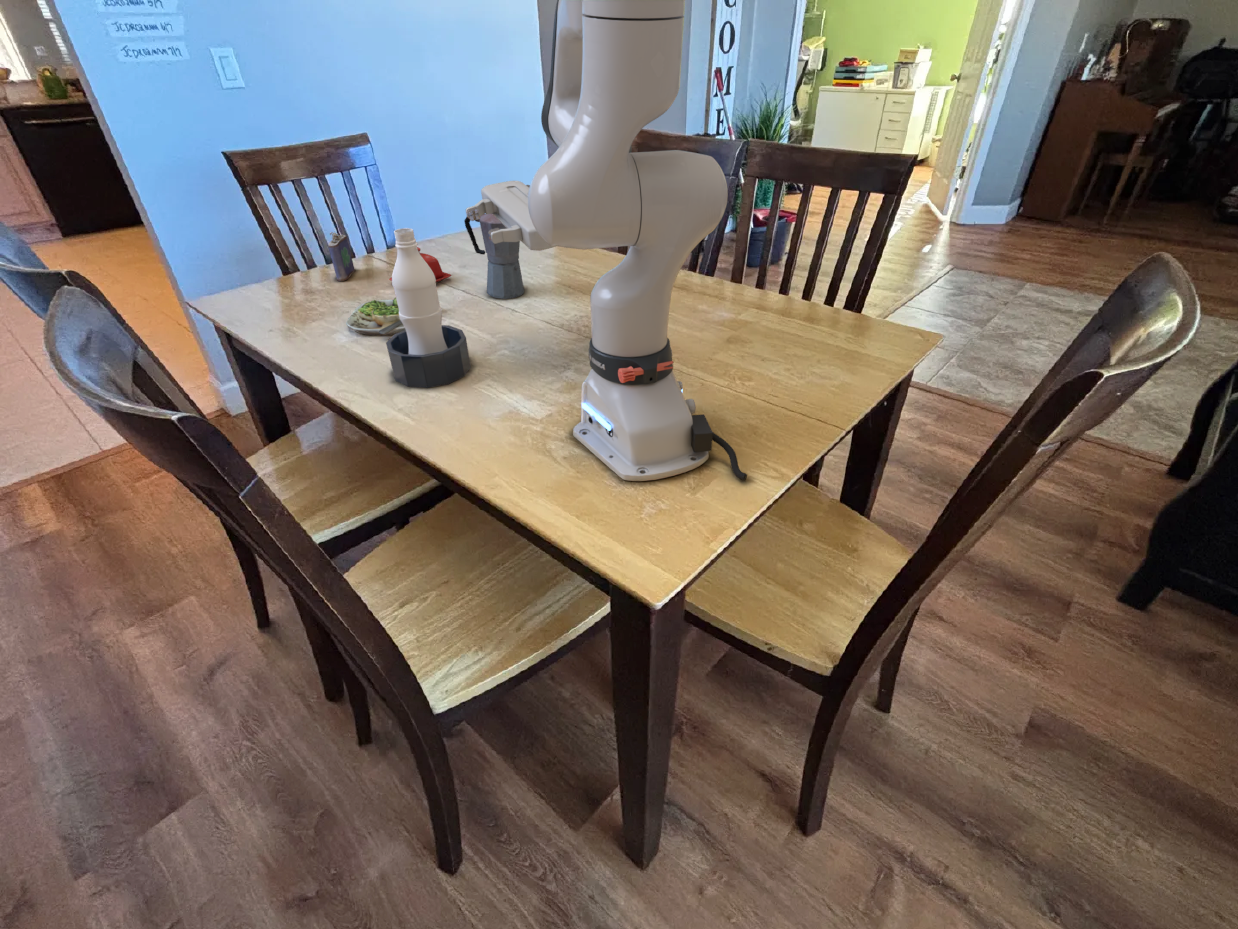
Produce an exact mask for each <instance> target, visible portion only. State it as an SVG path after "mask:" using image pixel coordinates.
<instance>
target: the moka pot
mask: <svg viewBox="0 0 1238 929" xmlns="http://www.w3.org/2000/svg"><path fill="white" fill-rule="evenodd" d="M463 221H464V226H465V229H466V231H467V233H468V236H469V238H470V241H471V242H472V246H473V249H474V252H475V254H479V255H482V256H483V255H484V256H485V254H486V257H487V258H486V259H487V274H486V294H487V295H488V296H490V297H492V298H495V299H502V300H503V299H504V300H507V299H515V298H518V297H520V296H522V295H523V294H524V293H525V289H524V288H525V287H524V282H523V277H522V270H521V264H520V260H519V259H520V243H521V241H518V242H504V241H503V242H500V243H496V244H494V243H493V242H492V241H491V240H490V239H489V234H488V232H489V230H491V229H495V228H499V229H507V228H506V227H505V226H504V225H503V224H502V223H501V222H500V221H499V220H498V219H497V218H496V217H494V216H493V215H492V214H486V213H485V214H483V215H481V216H480V219H478V220H474V221H475V223H479V225H480V231H481V236H482V239H483V245H484V249H480V246H479V245H478V243H477V239H476V236H475V233H474V231H473V228H472V226H471V223H470V222H472V221H471V220H470V219H469V218H468V217H467V216H466V217H465V218H464V220H463Z"/></svg>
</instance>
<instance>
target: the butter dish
mask: <svg viewBox="0 0 1238 929" xmlns="http://www.w3.org/2000/svg"><path fill="white" fill-rule="evenodd" d="M417 249H418V251H419V253H420V255H421V256H422V258H423V259H424V260H425V262H426V263H427V264H428V266H429V267H430V268H431V270H432V272H433V273H434V276H435V279H436V284H437V283H439V282H443V280H445V279H448V278H451V276H452V274H451V273H448V272H445V271H443V269H442V267H441V265H440V261H439V260H438V258H436V256H433V255H431V254H429V253H424V252H421V248H420V247H419V246H417ZM388 280H389V281H391V282H392V277H390V278H389V279H388Z"/></svg>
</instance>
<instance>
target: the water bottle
mask: <svg viewBox="0 0 1238 929" xmlns="http://www.w3.org/2000/svg"><path fill="white" fill-rule="evenodd" d="M393 234H394V237H395V241H394V242H395V245H394V246H395V248H396V249H397V250H396V251H397V253H396V254H397V255H396V260H395V264H394V266H393V270H392V275H391V278H392V281H391V286H392V287H393V290H394V294H395V298H396V299H397V304H398V308H399V317H400V320H401V322H402V323H403V325H404V327H405V330H406V333H407V336H408V343H409V353H408V354H412V355H425V354H431V353H436V352H441V351H444V350H446V349H448V348H447V346H446V343H445V340H444V337H443V333H442V325H443V324H442V322H443V321H442V320H443V310H442V307H441V304H440V300H439V294H438V288H437V283H436V279H435V276H434V273H433V272H432V270H431V268H430V267H429V266H428V264H427V263H426V262H425V260H424V259H423V258H422V256H421V255H420V253H421V252H420V253H419V251H418V249H417V247H418V245H419V244H418V242H417V239H416V237H415V233H414V229H413V228H409V227H403V228H398V229H395V230H394V231H393Z"/></svg>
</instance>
